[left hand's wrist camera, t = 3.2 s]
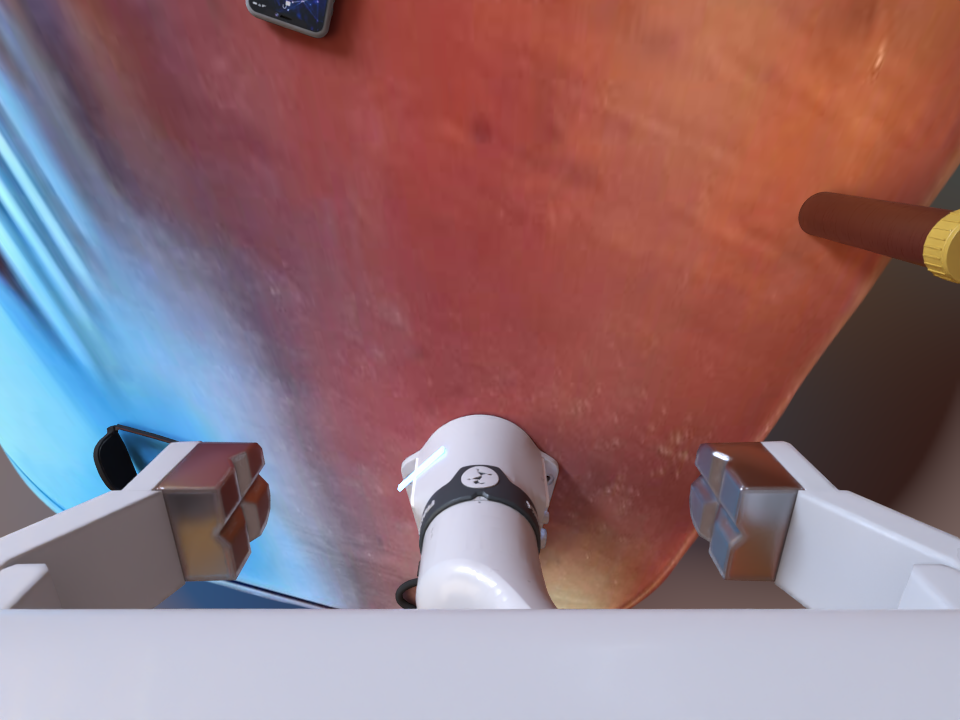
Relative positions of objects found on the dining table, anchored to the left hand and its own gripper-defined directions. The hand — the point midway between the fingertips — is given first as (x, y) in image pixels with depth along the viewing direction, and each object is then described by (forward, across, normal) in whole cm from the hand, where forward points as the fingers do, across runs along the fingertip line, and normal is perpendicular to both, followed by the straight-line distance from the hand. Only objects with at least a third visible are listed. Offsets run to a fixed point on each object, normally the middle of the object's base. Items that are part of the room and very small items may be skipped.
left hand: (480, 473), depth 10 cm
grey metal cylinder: (+48, +34, -1) cm, 59 cm away
